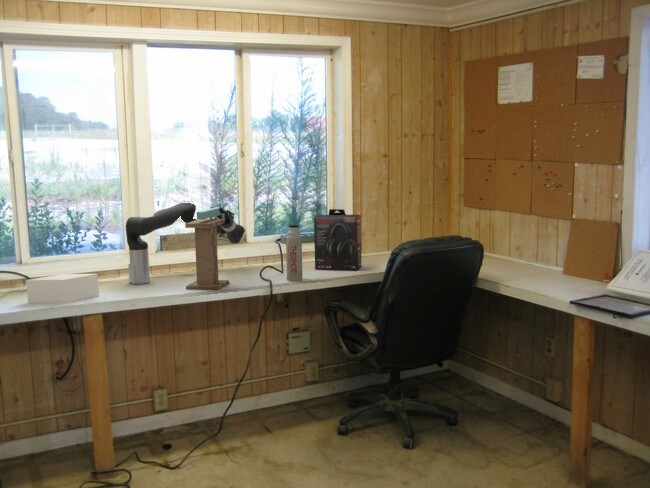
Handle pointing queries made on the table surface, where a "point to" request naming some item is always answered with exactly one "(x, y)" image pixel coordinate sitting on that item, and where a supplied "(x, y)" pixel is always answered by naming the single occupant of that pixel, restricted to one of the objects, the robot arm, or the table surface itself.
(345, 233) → the headset box
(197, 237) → the walnut stand
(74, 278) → the block
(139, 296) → the table surface
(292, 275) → the thermos bottle
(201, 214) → the teal bar
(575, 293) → the table surface
